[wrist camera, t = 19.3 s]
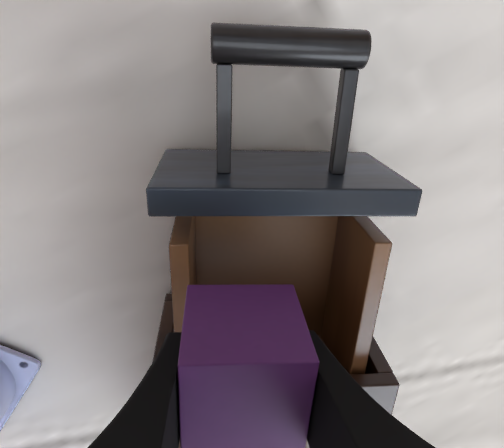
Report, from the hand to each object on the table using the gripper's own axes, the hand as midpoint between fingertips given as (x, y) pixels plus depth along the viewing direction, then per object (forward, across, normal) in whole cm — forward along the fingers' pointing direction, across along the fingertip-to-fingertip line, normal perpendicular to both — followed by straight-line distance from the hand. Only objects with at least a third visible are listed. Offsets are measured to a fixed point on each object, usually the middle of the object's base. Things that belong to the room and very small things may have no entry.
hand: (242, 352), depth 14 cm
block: (+1, 0, 0) cm, 1 cm away
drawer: (+10, -2, -2) cm, 10 cm away
